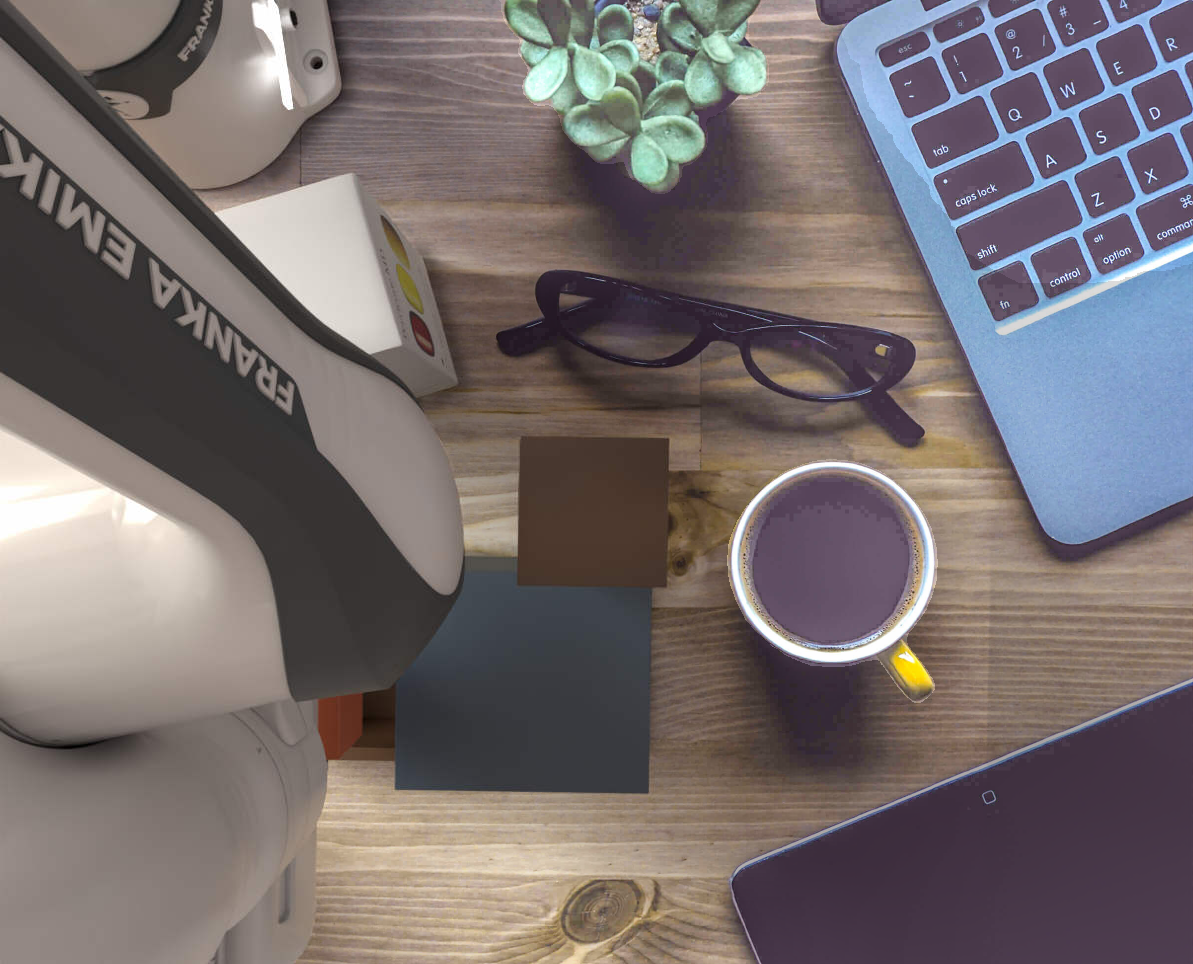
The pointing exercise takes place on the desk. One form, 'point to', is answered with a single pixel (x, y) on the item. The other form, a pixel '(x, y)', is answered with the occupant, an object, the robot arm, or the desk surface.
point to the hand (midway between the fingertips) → (314, 699)
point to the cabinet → (529, 690)
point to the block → (339, 723)
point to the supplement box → (352, 274)
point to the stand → (593, 511)
